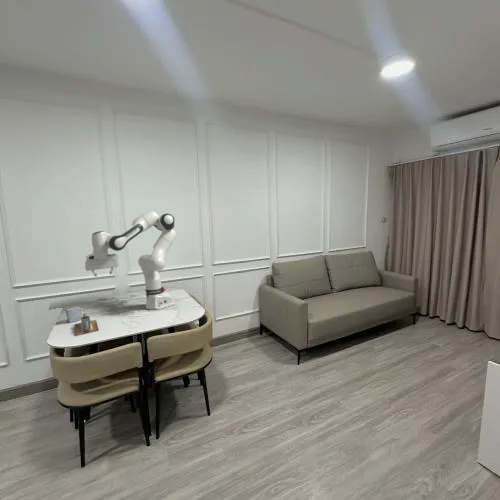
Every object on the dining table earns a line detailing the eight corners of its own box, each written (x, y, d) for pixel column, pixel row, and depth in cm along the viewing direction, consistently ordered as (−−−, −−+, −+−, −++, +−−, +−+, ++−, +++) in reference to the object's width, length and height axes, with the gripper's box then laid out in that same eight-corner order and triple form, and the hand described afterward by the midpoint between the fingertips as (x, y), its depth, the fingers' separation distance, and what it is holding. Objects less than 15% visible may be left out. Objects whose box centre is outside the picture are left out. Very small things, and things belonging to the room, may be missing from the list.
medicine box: (80, 318, 195) (78, 306, 194) (82, 319, 192) (80, 307, 191) (67, 321, 189) (65, 309, 188) (69, 323, 186) (67, 311, 185)
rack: (96, 320, 189) (94, 311, 188) (98, 330, 173) (97, 320, 172) (75, 325, 183) (73, 315, 182) (75, 336, 167) (74, 325, 166)
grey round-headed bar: (90, 322, 184) (89, 315, 183) (91, 328, 174) (90, 321, 173) (81, 324, 181) (80, 317, 181) (82, 330, 172) (81, 323, 171)
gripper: (117, 252, 199) (119, 271, 201) (83, 256, 189) (86, 276, 191) (118, 253, 194) (120, 273, 196) (84, 257, 183) (86, 278, 185)
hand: (103, 275), depth 193 cm, fingers open, 8 cm apart
